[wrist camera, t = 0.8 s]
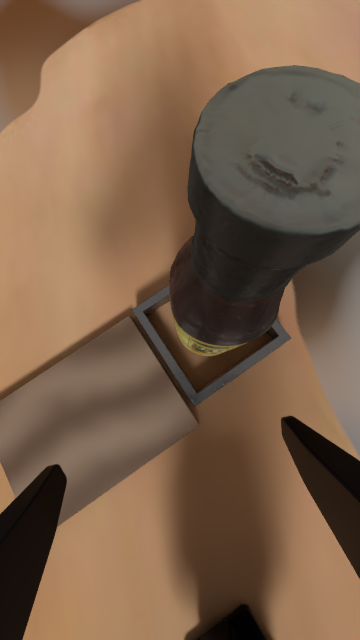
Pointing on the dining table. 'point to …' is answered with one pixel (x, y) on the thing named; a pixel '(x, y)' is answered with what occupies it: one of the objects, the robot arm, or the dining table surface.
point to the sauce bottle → (264, 199)
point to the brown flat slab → (93, 417)
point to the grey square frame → (196, 397)
